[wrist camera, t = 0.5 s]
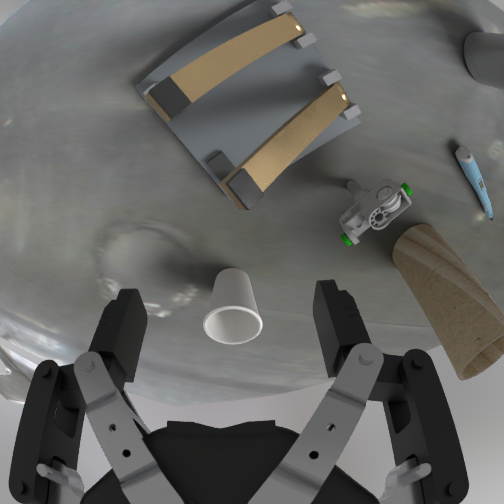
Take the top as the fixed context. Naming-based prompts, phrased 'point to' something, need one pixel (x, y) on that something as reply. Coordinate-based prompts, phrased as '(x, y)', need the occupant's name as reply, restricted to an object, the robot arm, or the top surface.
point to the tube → (451, 300)
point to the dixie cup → (232, 309)
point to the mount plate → (249, 93)
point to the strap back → (283, 147)
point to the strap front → (220, 65)
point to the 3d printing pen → (474, 177)
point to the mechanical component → (373, 208)
